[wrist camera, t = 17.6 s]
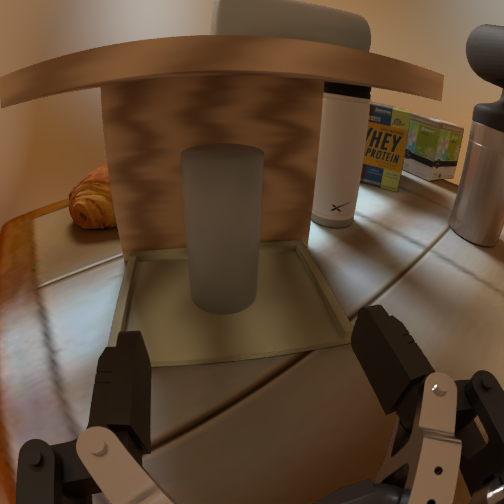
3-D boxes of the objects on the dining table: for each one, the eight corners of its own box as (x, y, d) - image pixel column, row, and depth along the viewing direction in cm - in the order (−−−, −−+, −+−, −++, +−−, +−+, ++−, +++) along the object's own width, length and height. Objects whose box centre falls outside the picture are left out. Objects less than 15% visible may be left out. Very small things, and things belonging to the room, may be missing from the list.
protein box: (345, 179, 56) (355, 100, 48) (358, 163, 67) (366, 100, 59) (397, 193, 52) (411, 112, 44) (400, 174, 63) (410, 109, 55)
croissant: (62, 237, 39) (44, 191, 34) (122, 186, 51) (112, 145, 45) (131, 255, 35) (112, 197, 30) (190, 192, 46) (183, 144, 41)
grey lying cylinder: (210, 61, 22) (336, 70, 25) (222, 50, 17) (371, 67, 20) (211, 5, 19) (336, 20, 22) (223, -18, 14) (369, 9, 17)
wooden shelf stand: (305, 238, 36) (321, 67, 25) (371, 348, 22) (443, 75, 11) (123, 251, 32) (101, 72, 22) (91, 378, 18) (-1, 77, 8)
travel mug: (343, 234, 37) (365, 70, 26) (299, 217, 40) (311, 64, 30) (361, 219, 41) (381, 76, 30) (321, 204, 45) (334, 69, 34)
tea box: (430, 182, 60) (441, 121, 52) (397, 168, 68) (406, 111, 60) (454, 179, 67) (465, 126, 59) (425, 166, 74) (434, 116, 66)
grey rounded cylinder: (268, 288, 27) (279, 151, 20) (229, 324, 23) (228, 169, 17) (219, 265, 30) (218, 140, 23) (177, 295, 26) (163, 155, 19)
